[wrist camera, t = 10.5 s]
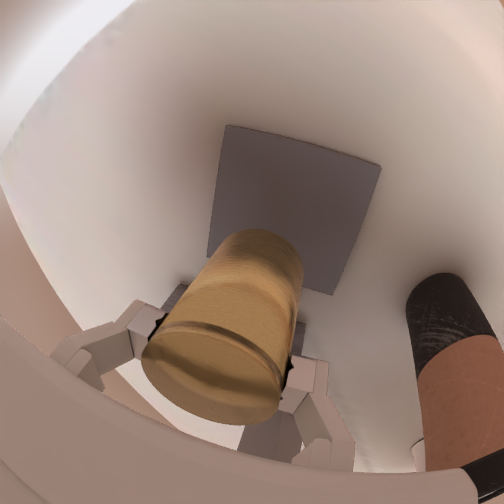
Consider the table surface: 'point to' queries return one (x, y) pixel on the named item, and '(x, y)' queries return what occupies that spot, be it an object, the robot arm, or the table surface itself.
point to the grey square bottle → (272, 438)
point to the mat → (293, 199)
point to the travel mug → (458, 382)
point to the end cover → (231, 332)
